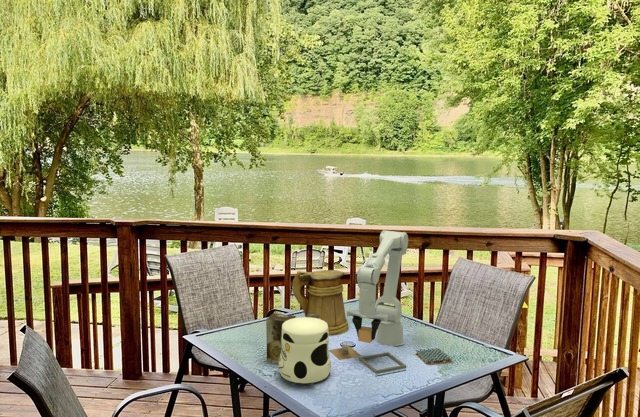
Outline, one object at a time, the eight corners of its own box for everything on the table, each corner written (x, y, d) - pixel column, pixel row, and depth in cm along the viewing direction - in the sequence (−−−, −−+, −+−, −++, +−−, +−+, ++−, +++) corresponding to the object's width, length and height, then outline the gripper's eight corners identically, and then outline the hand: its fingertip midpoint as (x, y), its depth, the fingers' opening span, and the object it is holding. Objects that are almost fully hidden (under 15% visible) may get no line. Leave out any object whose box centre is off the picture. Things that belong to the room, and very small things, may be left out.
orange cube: (374, 338, 183) (374, 327, 182) (370, 343, 179) (370, 332, 178) (362, 336, 184) (362, 326, 184) (358, 341, 180) (358, 330, 180)
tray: (387, 357, 187) (388, 352, 187) (406, 370, 176) (406, 365, 176) (358, 362, 182) (358, 357, 182) (375, 376, 171) (375, 371, 171)
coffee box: (296, 358, 184) (296, 315, 182) (289, 366, 178) (289, 321, 176) (273, 355, 187) (273, 312, 185) (265, 362, 181) (265, 318, 179)
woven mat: (426, 367, 180) (427, 361, 180) (413, 355, 190) (414, 349, 190) (453, 364, 183) (453, 358, 182) (439, 352, 193) (439, 347, 193)
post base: (350, 349, 193) (350, 339, 193) (361, 358, 185) (361, 348, 185) (328, 352, 190) (328, 343, 189) (339, 362, 182) (339, 352, 181)
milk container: (268, 374, 172) (268, 322, 170) (310, 361, 183) (310, 312, 180) (298, 394, 158) (298, 339, 156) (341, 379, 169) (342, 327, 167)
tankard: (351, 337, 205) (352, 277, 201) (292, 338, 203) (292, 277, 200) (345, 321, 223) (346, 265, 219) (291, 322, 221) (291, 266, 218)
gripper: (344, 301, 179) (343, 338, 180) (384, 306, 173) (383, 345, 175) (350, 295, 185) (349, 331, 187) (389, 301, 180) (388, 338, 182)
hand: (366, 337), depth 181 cm, fingers closed on orange cube, 4 cm apart
